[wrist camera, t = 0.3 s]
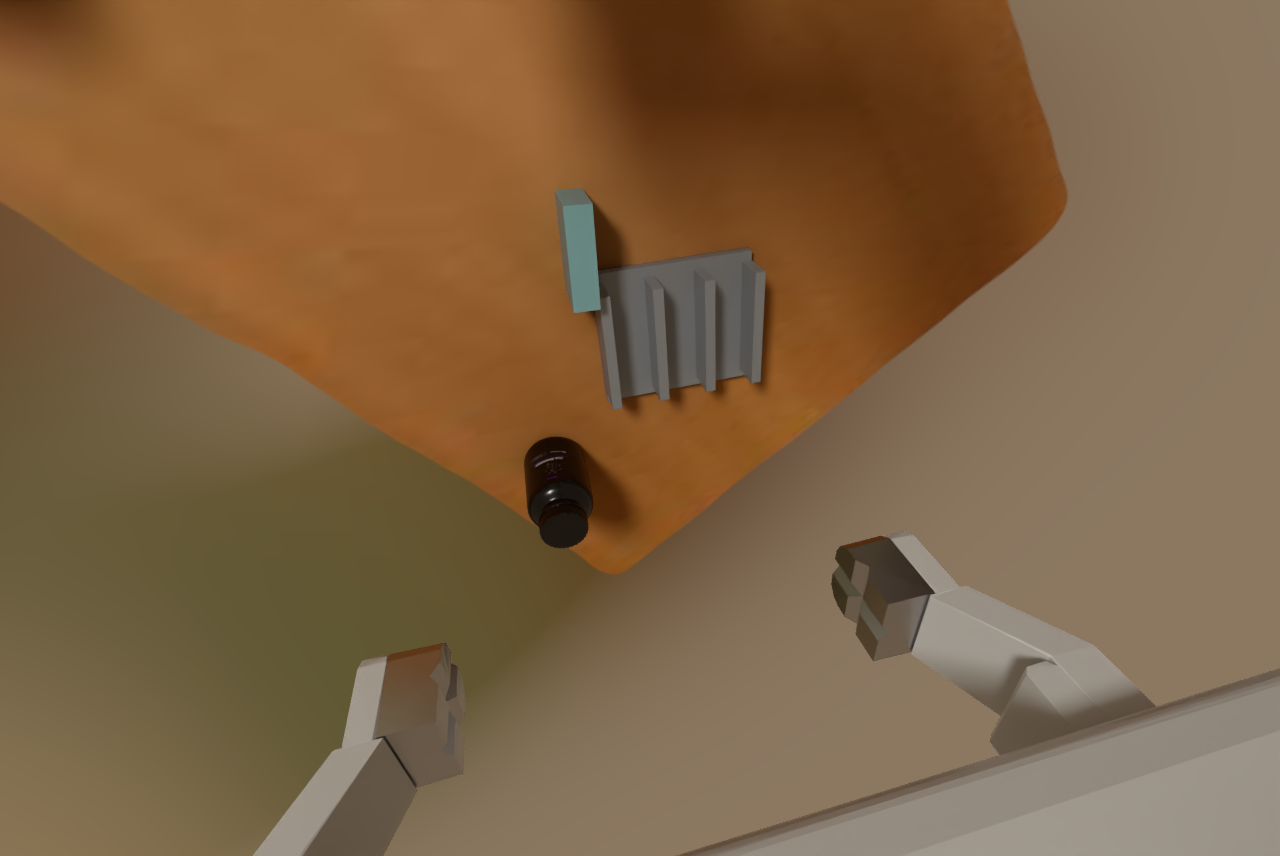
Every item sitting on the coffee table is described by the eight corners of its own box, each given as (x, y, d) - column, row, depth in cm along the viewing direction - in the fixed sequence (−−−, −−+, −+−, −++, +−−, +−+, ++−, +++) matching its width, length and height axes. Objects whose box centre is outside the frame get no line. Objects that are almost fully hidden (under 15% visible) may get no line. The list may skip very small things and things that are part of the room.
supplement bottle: (547, 424, 63) (560, 493, 53) (594, 451, 66) (614, 521, 57) (510, 466, 65) (515, 540, 55) (558, 491, 68) (570, 565, 59)
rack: (589, 271, 54) (597, 288, 51) (748, 247, 57) (766, 261, 53) (606, 396, 62) (614, 418, 59) (744, 370, 65) (759, 389, 61)
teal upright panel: (554, 190, 50) (562, 206, 45) (581, 188, 50) (592, 203, 46) (565, 289, 55) (573, 313, 50) (590, 286, 55) (600, 309, 51)
